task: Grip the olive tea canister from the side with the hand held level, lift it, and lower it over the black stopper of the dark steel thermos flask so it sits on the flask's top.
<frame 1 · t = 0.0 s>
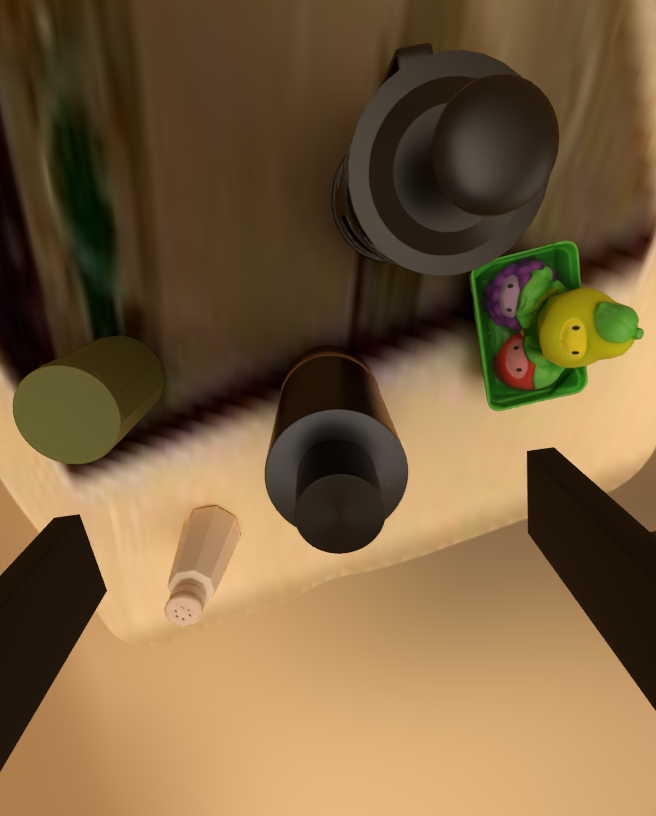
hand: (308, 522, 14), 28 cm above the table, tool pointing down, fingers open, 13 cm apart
fruit basket: (512, 317, 41), on the table
french press: (391, 191, 37), on the table
olive tea canister: (123, 375, 42), on the table
salt shaker: (212, 528, 47), on the table
flask: (329, 391, 42), on the table
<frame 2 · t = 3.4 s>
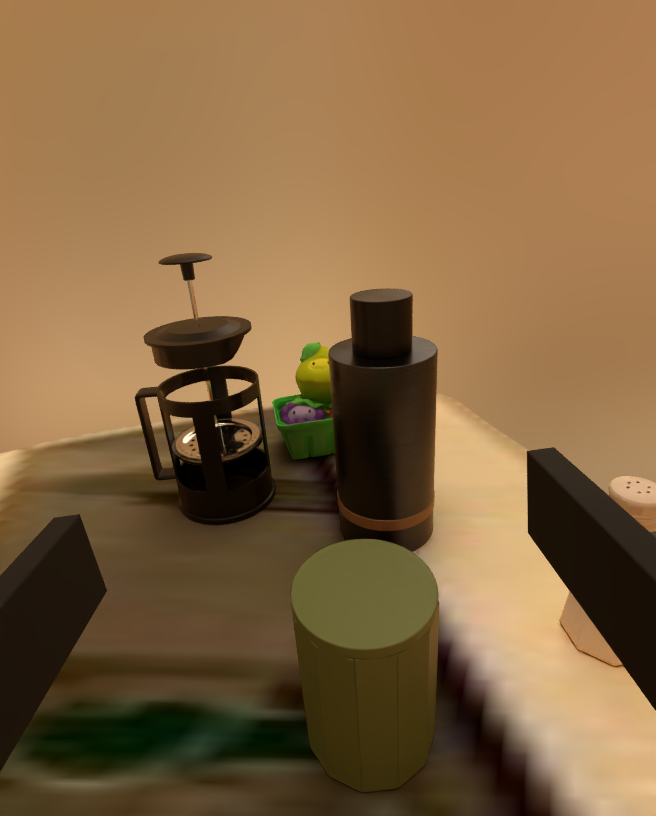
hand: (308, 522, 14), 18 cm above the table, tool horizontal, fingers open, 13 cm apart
fruit basket: (327, 443, 57), on the table
french press: (223, 497, 49), on the table
olive tea canister: (370, 722, 27), on the table
salt shaker: (604, 633, 32), on the table
flask: (385, 524, 43), on the table
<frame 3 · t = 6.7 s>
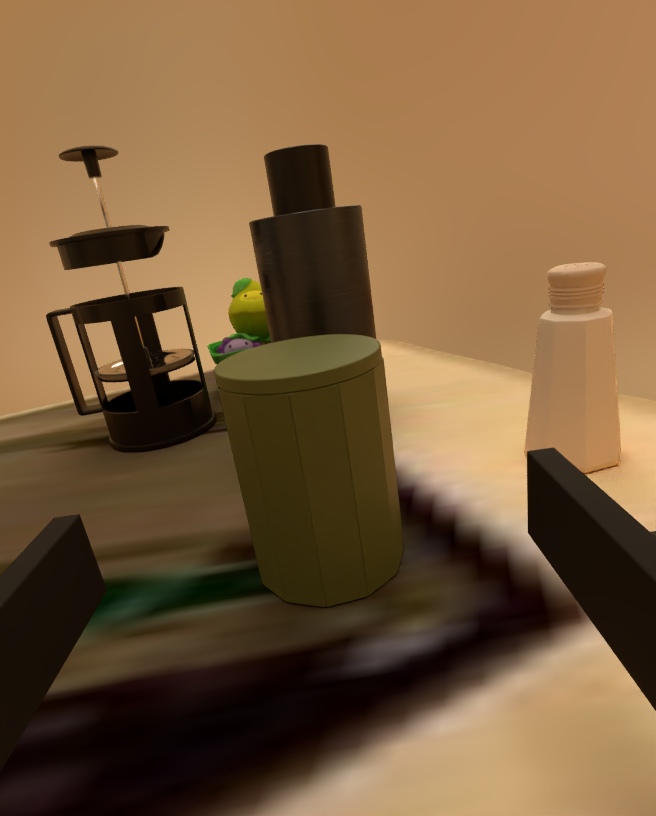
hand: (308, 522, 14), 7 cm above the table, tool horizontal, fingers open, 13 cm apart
fruit basket: (270, 384, 54), on the table
french press: (159, 432, 45), on the table
olive tea canister: (330, 555, 24), on the table
salt shaker: (571, 455, 30), on the table
flask: (335, 422, 40), on the table
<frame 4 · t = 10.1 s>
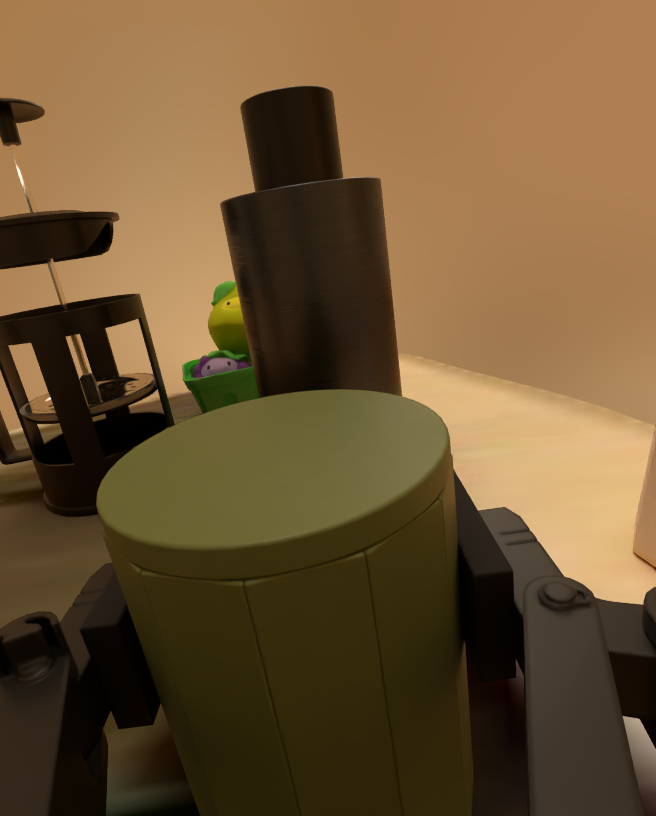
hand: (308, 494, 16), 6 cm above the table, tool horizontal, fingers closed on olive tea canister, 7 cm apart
fruit basket: (260, 412, 44), on the table
french press: (113, 483, 34), on the table
olive tea canister: (341, 779, 13), on the table, touching gripper
flask: (343, 477, 30), on the table
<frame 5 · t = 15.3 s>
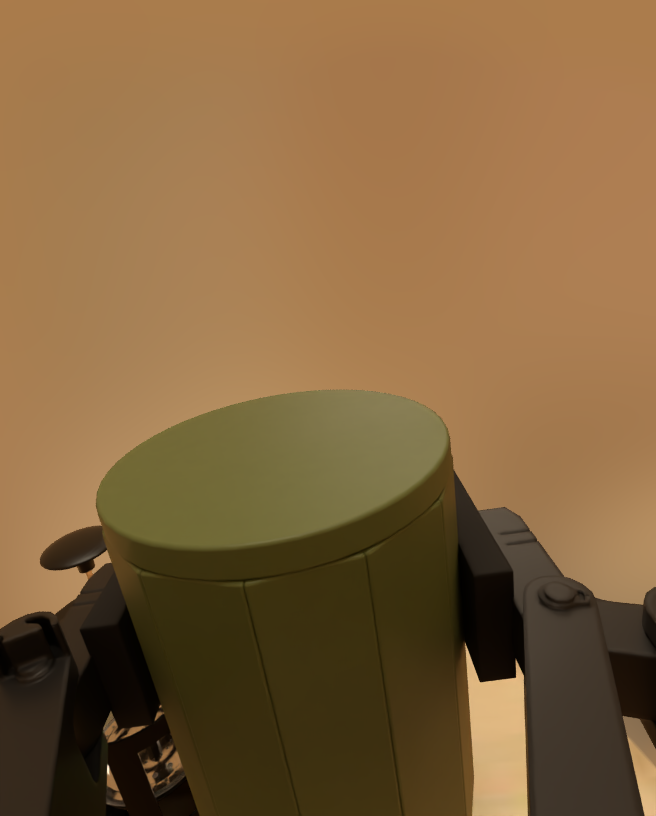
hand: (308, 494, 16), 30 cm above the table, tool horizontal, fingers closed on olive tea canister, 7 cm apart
french press: (167, 805, 37), on the table
olive tea canister: (341, 780, 13), point 24 cm above the table, touching gripper
when the fingers open (22 cm above the table, at t = 20.5 s): olive tea canister stays where it is, resting on flask.
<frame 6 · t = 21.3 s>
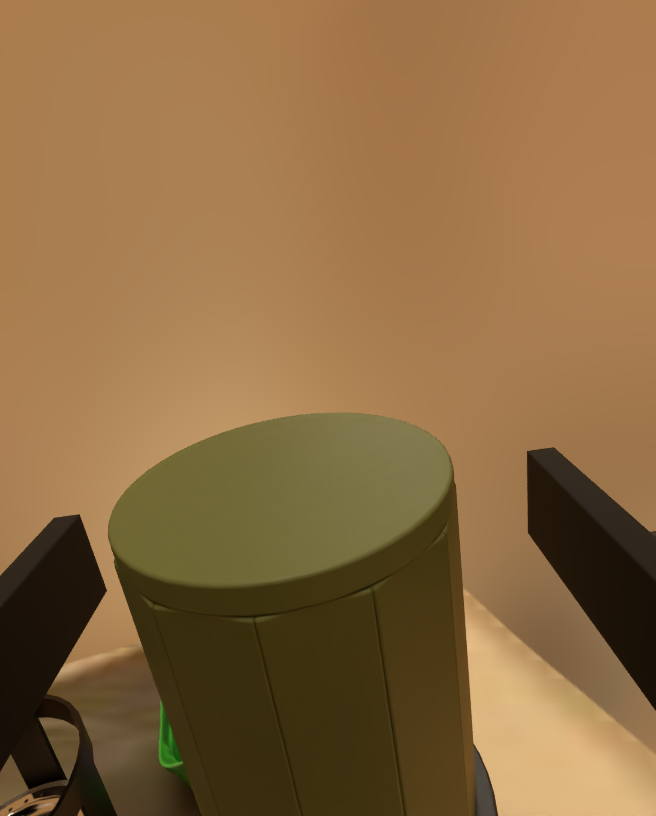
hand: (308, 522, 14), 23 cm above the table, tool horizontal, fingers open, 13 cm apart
fruit basket: (266, 730, 33), on the table
olive tea canister: (346, 796, 13), point 16 cm above the table, touching flask
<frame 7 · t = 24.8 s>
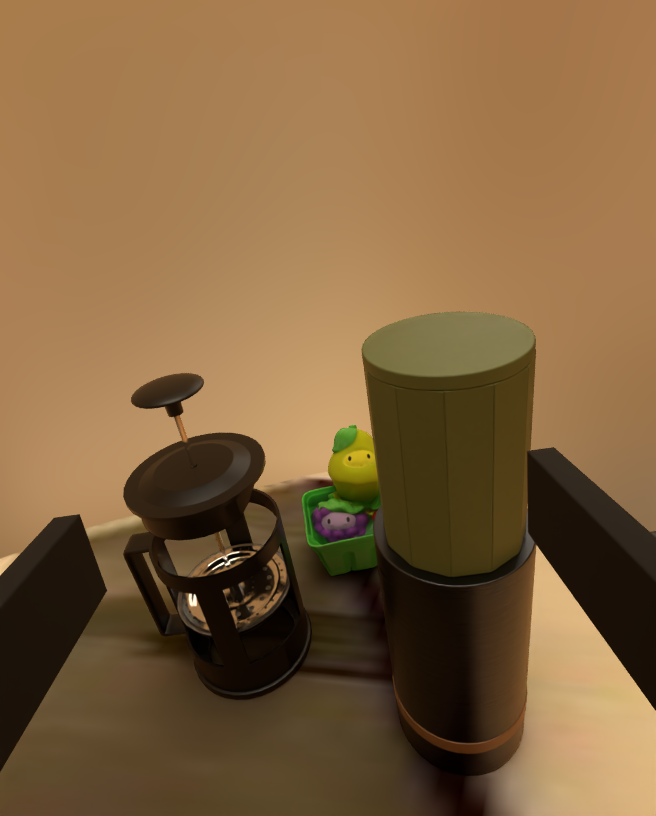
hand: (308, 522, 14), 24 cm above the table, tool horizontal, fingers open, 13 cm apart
fruit basket: (371, 544, 47), on the table
french press: (248, 643, 39), on the table
olive tea canister: (452, 523, 25), point 16 cm above the table, touching flask
flask: (458, 707, 32), on the table
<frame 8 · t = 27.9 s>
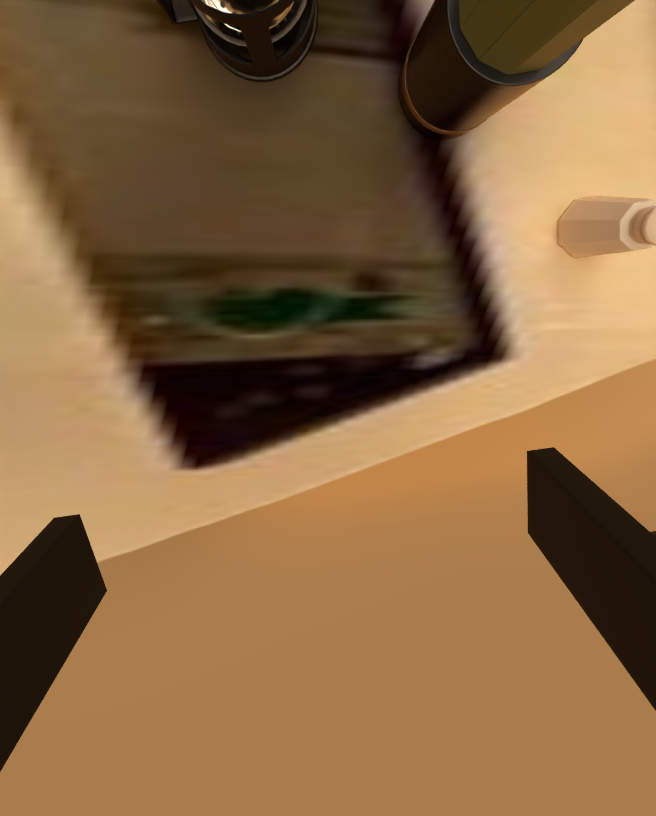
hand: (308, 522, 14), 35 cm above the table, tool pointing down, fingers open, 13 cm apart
french press: (252, 15, 39), on the table
salt shaker: (583, 227, 45), on the table
flask: (446, 85, 41), on the table
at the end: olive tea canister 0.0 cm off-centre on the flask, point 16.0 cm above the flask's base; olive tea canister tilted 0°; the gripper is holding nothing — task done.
